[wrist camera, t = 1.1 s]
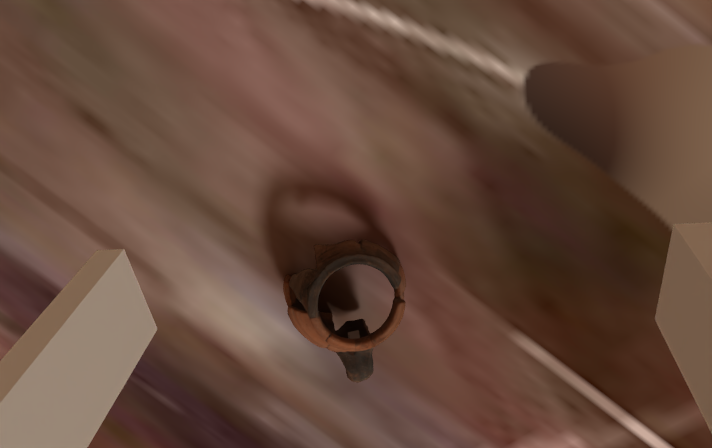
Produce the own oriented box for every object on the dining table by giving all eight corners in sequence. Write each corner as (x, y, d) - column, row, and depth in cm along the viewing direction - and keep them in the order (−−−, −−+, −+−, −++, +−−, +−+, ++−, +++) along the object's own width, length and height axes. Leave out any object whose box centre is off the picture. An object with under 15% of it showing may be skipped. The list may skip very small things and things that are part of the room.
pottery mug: (261, 247, 45) (273, 272, 37) (367, 206, 47) (401, 222, 39) (309, 374, 48) (330, 422, 40) (408, 331, 50) (446, 369, 42)
